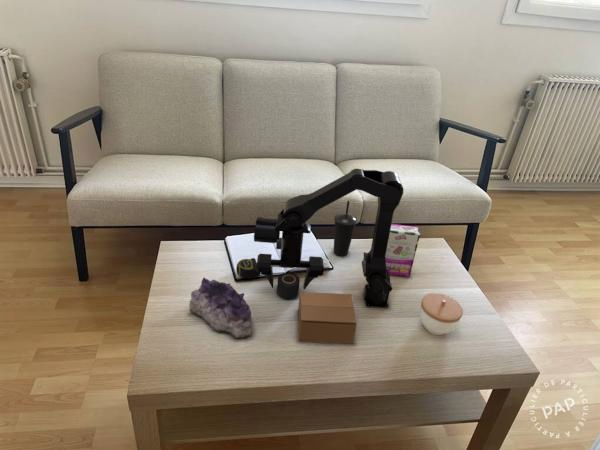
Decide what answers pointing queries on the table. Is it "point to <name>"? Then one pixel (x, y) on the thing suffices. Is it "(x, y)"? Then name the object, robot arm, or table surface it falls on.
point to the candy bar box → (401, 249)
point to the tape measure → (247, 268)
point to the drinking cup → (343, 232)
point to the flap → (326, 299)
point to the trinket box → (440, 313)
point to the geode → (222, 308)
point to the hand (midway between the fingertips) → (288, 287)
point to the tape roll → (288, 286)
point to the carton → (326, 324)
